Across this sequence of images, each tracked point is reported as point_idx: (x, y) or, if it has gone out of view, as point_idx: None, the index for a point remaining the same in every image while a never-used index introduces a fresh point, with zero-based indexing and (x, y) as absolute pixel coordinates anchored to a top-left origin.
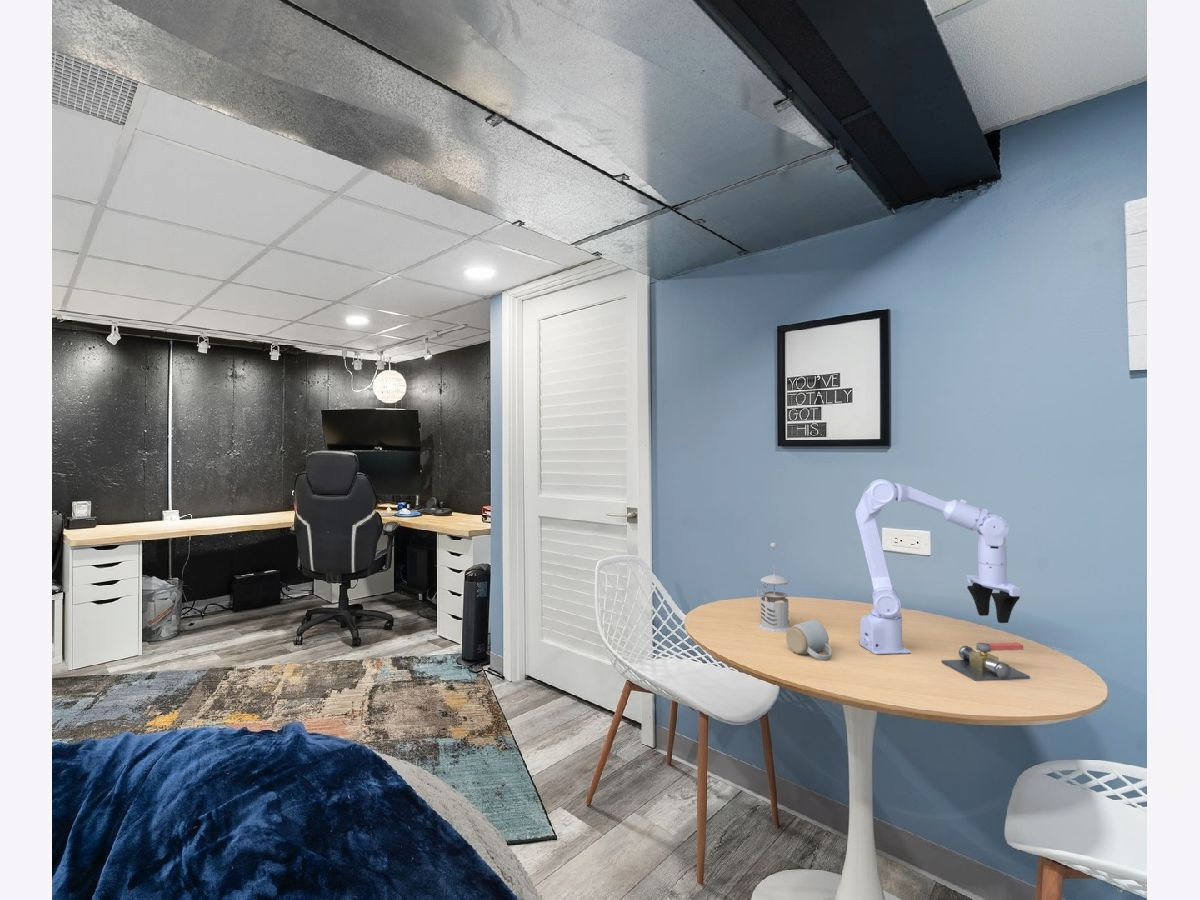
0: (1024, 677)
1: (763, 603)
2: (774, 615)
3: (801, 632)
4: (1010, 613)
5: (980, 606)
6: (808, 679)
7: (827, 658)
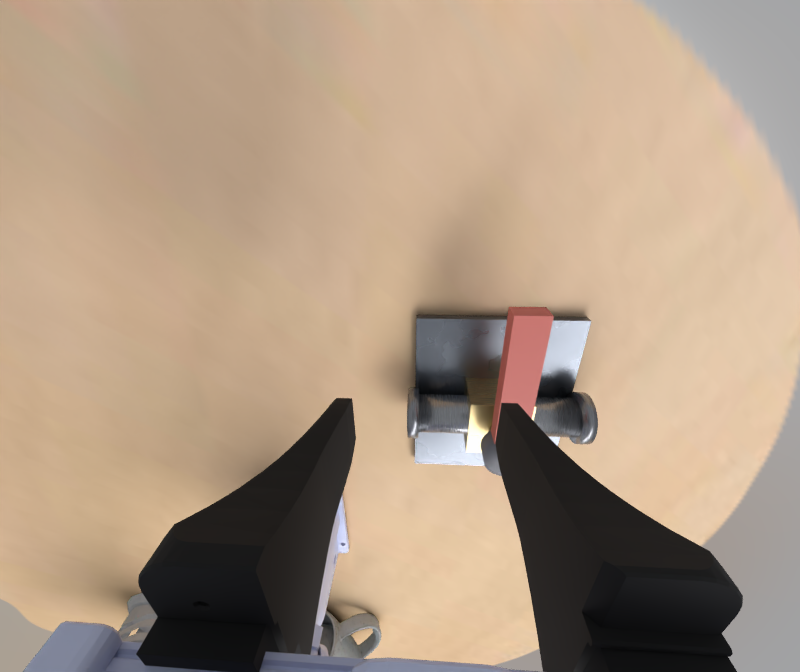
0: (584, 337)
1: None
2: (121, 628)
3: None
4: (552, 444)
5: (340, 482)
6: (464, 661)
7: (376, 620)
